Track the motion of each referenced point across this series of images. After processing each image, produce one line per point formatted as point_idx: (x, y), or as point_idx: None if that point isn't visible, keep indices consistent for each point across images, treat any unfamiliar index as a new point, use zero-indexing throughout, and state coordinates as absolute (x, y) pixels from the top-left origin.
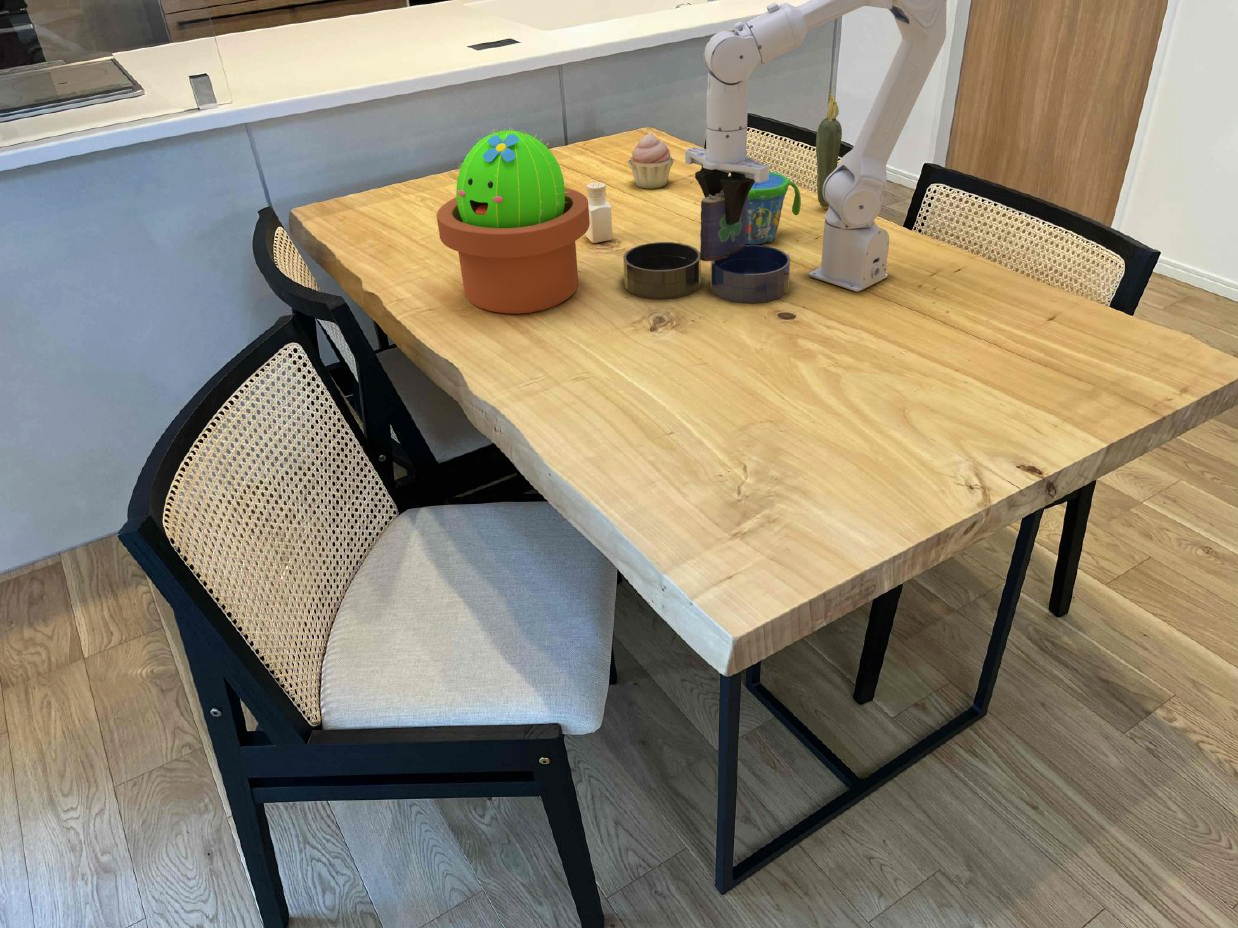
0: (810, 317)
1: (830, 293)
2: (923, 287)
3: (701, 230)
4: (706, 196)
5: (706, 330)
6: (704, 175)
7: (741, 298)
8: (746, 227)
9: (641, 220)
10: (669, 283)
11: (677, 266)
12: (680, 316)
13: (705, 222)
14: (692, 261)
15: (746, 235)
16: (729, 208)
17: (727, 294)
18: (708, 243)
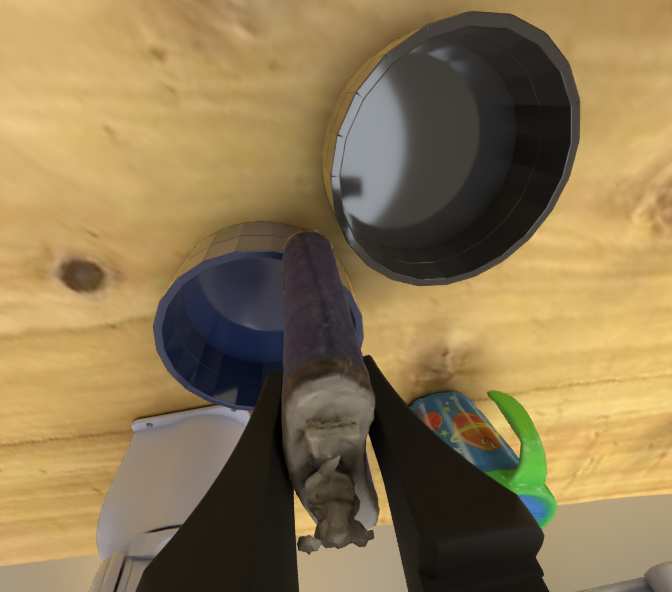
0: (55, 309)
1: (156, 390)
2: (110, 484)
3: (320, 279)
4: (402, 421)
5: (69, 39)
6: (444, 553)
7: (198, 246)
8: (434, 421)
9: (663, 325)
10: (339, 109)
11: (451, 242)
12: (209, 44)
13: (303, 307)
14: (412, 262)
15: (429, 408)
16: (250, 428)
17: (230, 230)
18: (289, 269)
